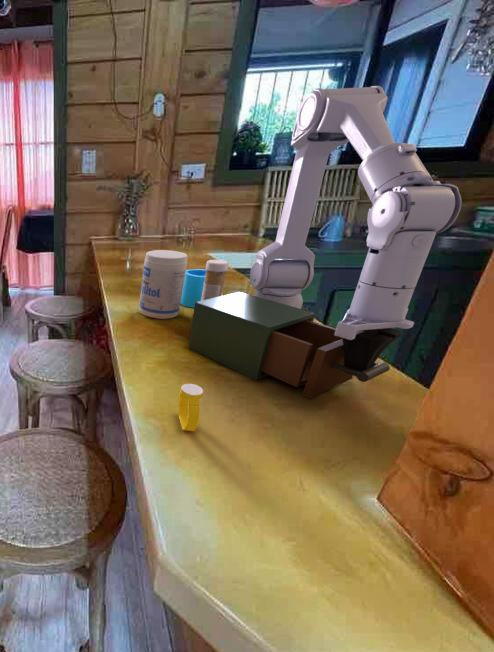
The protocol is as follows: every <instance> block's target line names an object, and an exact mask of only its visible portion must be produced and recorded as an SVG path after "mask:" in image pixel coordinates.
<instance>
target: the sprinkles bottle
mask: <svg viewBox="0 0 494 652" xmlns="http://www.w3.org/2000/svg"><path fill="white" fill-rule="evenodd" d="M229 266H230V263H229V261H227V260H223V259H209V260H207V261H206V265H205V270H206V275H205V281H204V286H203V292H202V298H201V301H203V300H207V299H211V298H215V297H220V296H224V295H223V294H224V289H225V282H226V275H227V272H228V270H229Z"/></svg>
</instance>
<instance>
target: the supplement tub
mask: <svg viewBox="0 0 494 652" xmlns="http://www.w3.org/2000/svg"><path fill="white" fill-rule="evenodd" d="M187 266H188V254H187V253H185V252H182V251H178V250H171V249H170V250H169V249H154V250H148V251H147V252H146V253H145V258H144V262H143V268H142V279H141V287H140V295H139V296H140V297H139V305H138V310H139V312H140V314H142V315H144V316H146V317H148V318H151V319H152V318H153V319H160V320H168V319H173V318H175V317H177V316H178V315H179V313H180V308H181V297H182V291H183V285H184V279H185V273H186V270H187Z"/></svg>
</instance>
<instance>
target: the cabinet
mask: <svg viewBox="0 0 494 652" xmlns="http://www.w3.org/2000/svg"><path fill="white" fill-rule="evenodd" d="M192 313H193V314H192V320H191V326H190V333H189V340H188V346H187V348H188V349H189V350H192V351H193V352H196V353H198V354H200V355H201V356H204V357H206V358H208V359H210V360H213V361H215V362H216V363H219V364H221V365H223V366H225V367H227V368H229V369H232V370H234V371H236V372H237V373H240V374H242V375H244V376H247V377H248V378H251V379H253V380H255V381H258V380H260V379H263V378H265V377H268V376H269V375H268V374H266V373H264V372H262V371H261V369H262V366H263V362H264V358H265V354H266V350H267V346H268V342H269V338H270V334H271V331H273V330H276V329H279V328H283V327H286V326H289V325H292V324H295V323H298V322H302V321H305V320H309V321H312V322H314V320H315V317H316V314H317V313H316V312H313V311H309V310H305V309H302V308H301V309H299V308H295V307H292V306H288V305H285V304H281V303H277V302H274V301H270V300H267V299H263V298H260V297H256V296H255V295H252V294H248V293H245V292H241V291H238V292H233V293H228V294H224V295H222V296H220V297H215V298H211V299H207V300H203V301H198V302H195V307H194V308H193V312H192Z"/></svg>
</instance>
